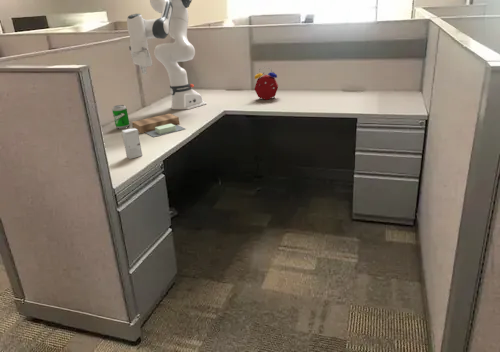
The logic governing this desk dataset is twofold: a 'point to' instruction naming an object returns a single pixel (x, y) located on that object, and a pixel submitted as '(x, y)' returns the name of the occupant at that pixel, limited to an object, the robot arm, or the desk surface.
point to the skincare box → (132, 143)
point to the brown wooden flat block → (155, 122)
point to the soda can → (120, 116)
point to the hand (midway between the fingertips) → (144, 73)
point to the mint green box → (165, 128)
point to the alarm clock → (266, 85)
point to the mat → (155, 134)
